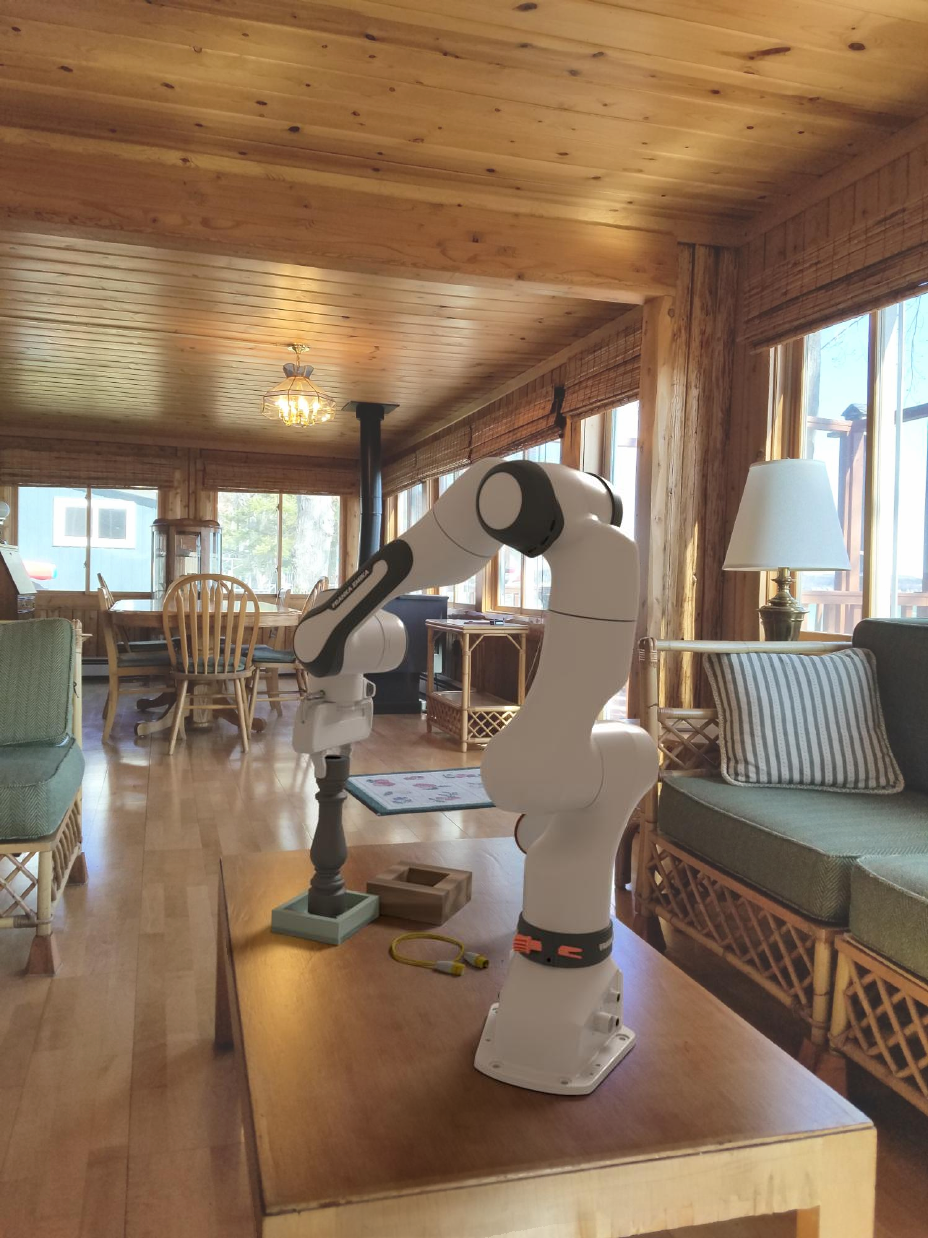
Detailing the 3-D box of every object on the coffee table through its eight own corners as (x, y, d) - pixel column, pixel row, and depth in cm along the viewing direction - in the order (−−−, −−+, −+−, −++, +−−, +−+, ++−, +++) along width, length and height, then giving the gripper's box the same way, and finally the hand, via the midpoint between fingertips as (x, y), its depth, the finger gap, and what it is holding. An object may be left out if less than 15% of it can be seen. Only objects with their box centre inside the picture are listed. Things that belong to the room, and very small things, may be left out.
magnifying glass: (558, 923, 151) (563, 804, 150) (561, 926, 149) (567, 807, 149) (508, 924, 149) (514, 805, 149) (511, 928, 147) (516, 807, 147)
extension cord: (414, 986, 126) (414, 972, 126) (380, 944, 140) (381, 931, 140) (493, 975, 130) (494, 961, 130) (452, 935, 145) (453, 923, 145)
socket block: (441, 925, 148) (442, 895, 147) (365, 911, 153) (366, 882, 152) (471, 899, 161) (472, 871, 161) (400, 887, 166) (401, 860, 166)
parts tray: (338, 945, 137) (338, 922, 137) (270, 932, 142) (271, 910, 142) (378, 916, 151) (379, 895, 150) (316, 904, 155) (316, 884, 155)
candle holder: (342, 918, 143) (348, 762, 142) (303, 916, 143) (309, 760, 142) (348, 905, 149) (354, 755, 148) (311, 903, 149) (317, 753, 149)
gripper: (319, 695, 134) (316, 787, 135) (380, 684, 153) (377, 765, 154) (283, 692, 136) (280, 782, 137) (347, 682, 156) (344, 761, 156)
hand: (332, 773), depth 145 cm, fingers closed on candle holder, 6 cm apart
